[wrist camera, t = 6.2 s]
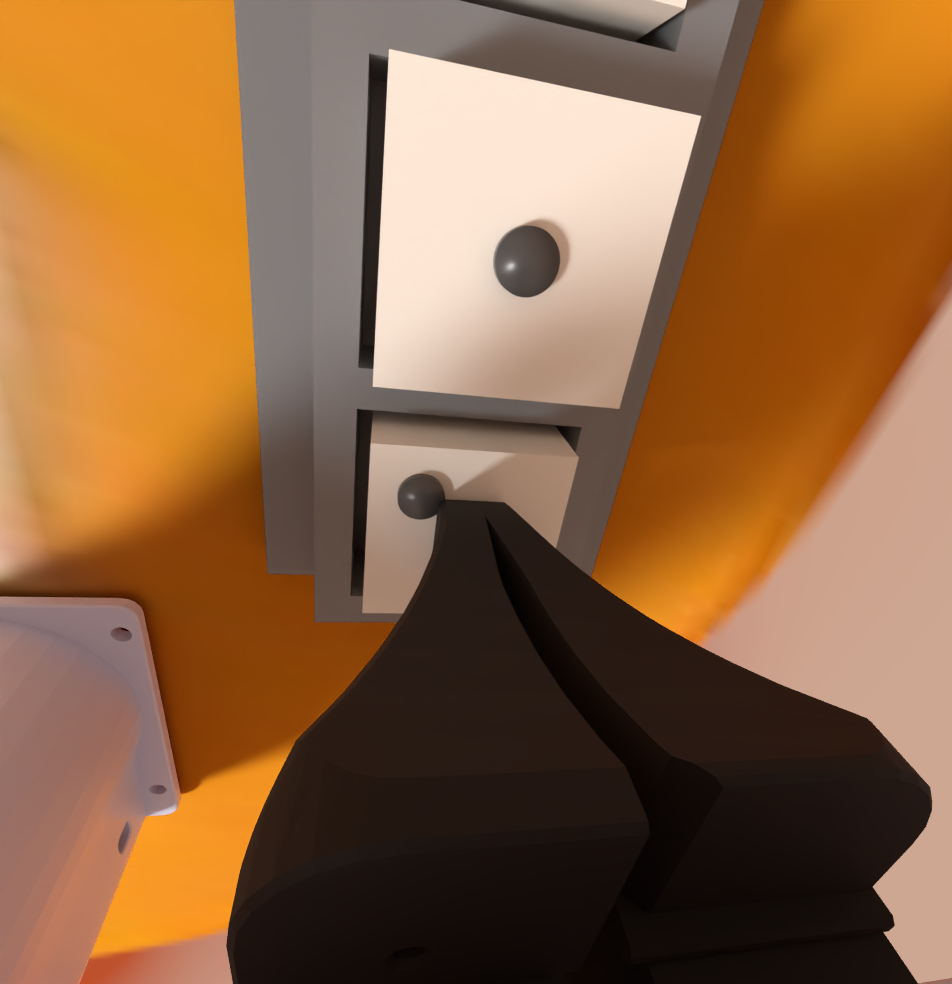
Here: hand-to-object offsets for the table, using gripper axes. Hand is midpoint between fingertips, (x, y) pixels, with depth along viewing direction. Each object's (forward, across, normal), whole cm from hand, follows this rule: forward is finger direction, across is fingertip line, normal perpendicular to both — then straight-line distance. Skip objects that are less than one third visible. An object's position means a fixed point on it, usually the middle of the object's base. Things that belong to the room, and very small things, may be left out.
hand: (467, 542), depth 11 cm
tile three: (+3, 0, 0) cm, 3 cm away
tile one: (+2, 0, -5) cm, 6 cm away
